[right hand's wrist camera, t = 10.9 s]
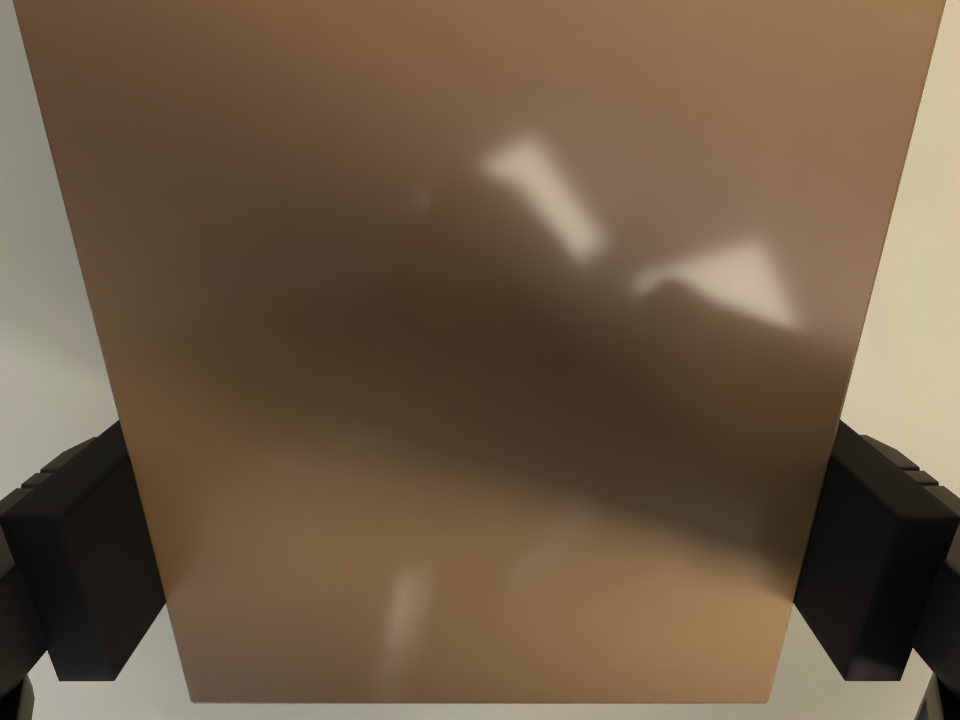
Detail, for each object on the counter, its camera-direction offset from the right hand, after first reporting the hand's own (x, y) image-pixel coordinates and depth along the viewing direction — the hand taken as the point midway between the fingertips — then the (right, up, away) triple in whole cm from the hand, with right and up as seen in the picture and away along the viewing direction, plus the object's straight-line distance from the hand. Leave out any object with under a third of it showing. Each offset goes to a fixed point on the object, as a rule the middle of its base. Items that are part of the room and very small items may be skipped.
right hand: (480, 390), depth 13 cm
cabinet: (0, +6, +1) cm, 6 cm away
